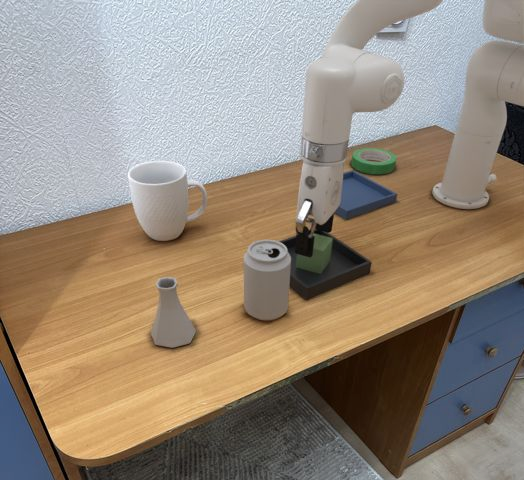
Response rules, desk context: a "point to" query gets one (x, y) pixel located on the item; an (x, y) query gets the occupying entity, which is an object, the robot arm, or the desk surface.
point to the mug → (162, 198)
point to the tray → (362, 195)
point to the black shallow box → (326, 268)
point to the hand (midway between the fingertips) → (313, 242)
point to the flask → (171, 317)
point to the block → (317, 255)
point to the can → (266, 279)
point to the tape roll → (370, 167)
